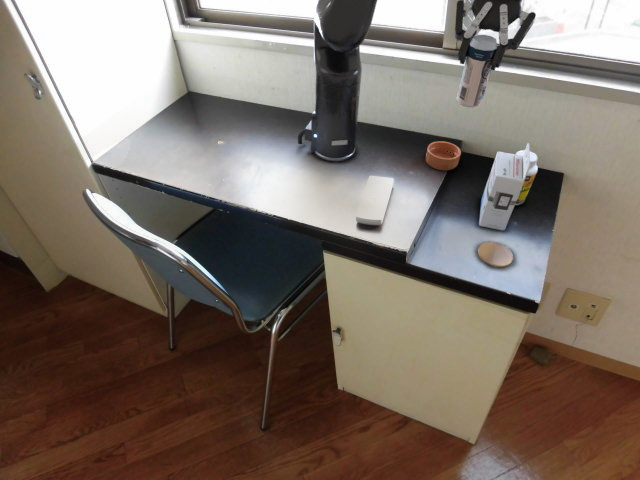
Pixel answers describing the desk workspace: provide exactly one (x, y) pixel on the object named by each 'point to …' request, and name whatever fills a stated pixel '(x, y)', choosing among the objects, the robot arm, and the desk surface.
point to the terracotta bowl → (443, 155)
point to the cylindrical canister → (476, 70)
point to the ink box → (503, 188)
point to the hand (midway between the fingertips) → (477, 64)
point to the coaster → (495, 254)
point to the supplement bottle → (529, 177)
